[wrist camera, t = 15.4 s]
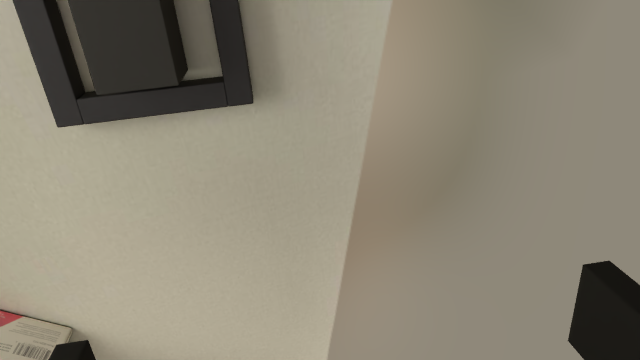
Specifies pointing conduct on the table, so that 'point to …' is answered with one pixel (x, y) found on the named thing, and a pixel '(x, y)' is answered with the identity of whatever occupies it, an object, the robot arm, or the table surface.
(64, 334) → the ink box
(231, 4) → the frame pad
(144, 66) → the black box
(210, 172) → the table surface
